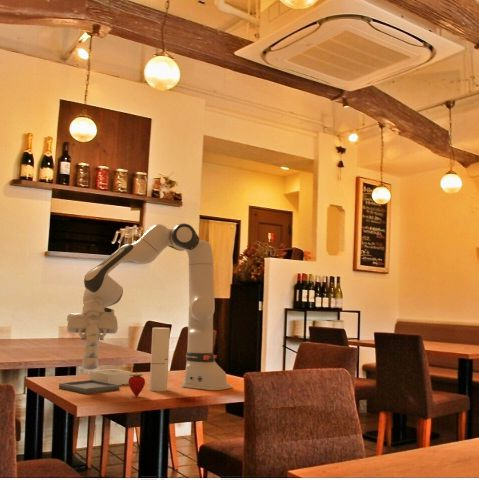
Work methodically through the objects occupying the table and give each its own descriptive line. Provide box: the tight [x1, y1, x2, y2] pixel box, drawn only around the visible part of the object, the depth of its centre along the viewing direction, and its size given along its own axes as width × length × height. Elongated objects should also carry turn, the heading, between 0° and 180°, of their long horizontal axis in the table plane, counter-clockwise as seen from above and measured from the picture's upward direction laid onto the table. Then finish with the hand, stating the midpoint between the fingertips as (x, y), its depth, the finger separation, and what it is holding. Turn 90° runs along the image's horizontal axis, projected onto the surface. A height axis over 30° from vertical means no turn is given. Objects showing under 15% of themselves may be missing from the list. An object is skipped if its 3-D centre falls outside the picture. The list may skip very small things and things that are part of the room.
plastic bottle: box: [81, 319, 101, 371], centre depth 225 cm, size 6×7×20 cm
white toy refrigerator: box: [148, 327, 171, 392], centre depth 228 cm, size 7×7×25 cm
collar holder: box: [89, 368, 132, 386], centre depth 240 cm, size 12×12×5 cm
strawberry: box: [128, 370, 146, 397], centre depth 210 cm, size 6×8×10 cm
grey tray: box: [58, 379, 121, 395], centre depth 223 cm, size 18×16×2 cm
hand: (92, 339), depth 225 cm, fingers closed on plastic bottle, 6 cm apart
